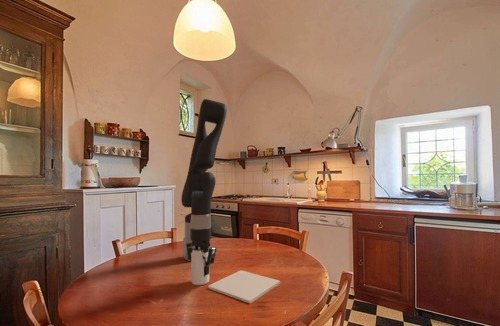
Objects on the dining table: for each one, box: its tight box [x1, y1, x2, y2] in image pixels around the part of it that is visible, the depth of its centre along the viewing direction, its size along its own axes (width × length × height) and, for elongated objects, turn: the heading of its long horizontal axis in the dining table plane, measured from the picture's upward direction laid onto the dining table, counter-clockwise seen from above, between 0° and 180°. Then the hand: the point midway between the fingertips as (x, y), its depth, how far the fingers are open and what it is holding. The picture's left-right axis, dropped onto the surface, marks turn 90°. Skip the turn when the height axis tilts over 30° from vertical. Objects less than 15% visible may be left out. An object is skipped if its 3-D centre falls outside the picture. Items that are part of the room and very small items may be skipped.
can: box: [190, 249, 210, 286], centre depth 89 cm, size 6×6×12 cm
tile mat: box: [207, 269, 281, 304], centre depth 86 cm, size 18×18×1 cm
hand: (200, 273), depth 89 cm, fingers closed on can, 4 cm apart
